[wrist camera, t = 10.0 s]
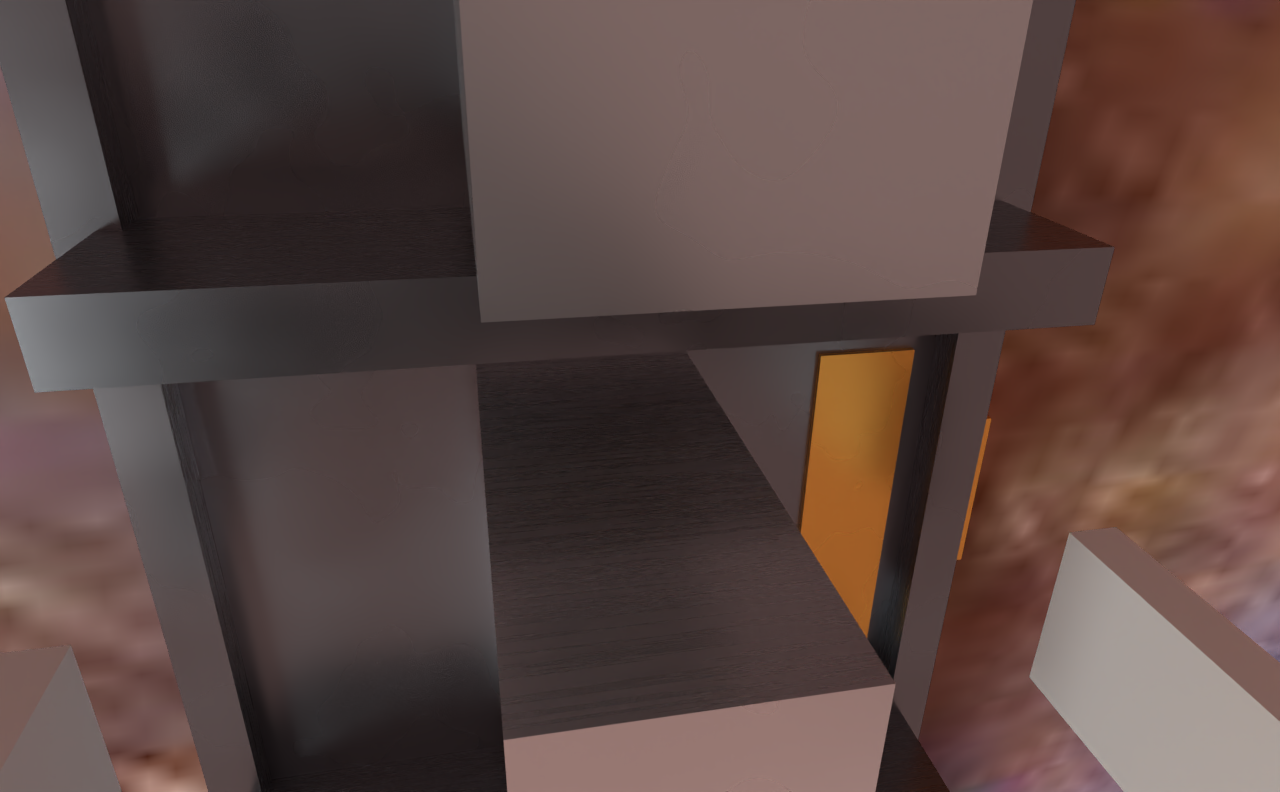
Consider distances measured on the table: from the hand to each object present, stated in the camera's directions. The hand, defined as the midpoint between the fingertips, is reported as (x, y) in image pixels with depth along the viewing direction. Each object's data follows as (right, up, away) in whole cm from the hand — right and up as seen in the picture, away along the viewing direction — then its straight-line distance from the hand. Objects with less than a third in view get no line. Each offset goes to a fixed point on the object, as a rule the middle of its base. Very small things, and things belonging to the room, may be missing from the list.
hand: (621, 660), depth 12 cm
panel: (-1, +1, +3) cm, 3 cm away
